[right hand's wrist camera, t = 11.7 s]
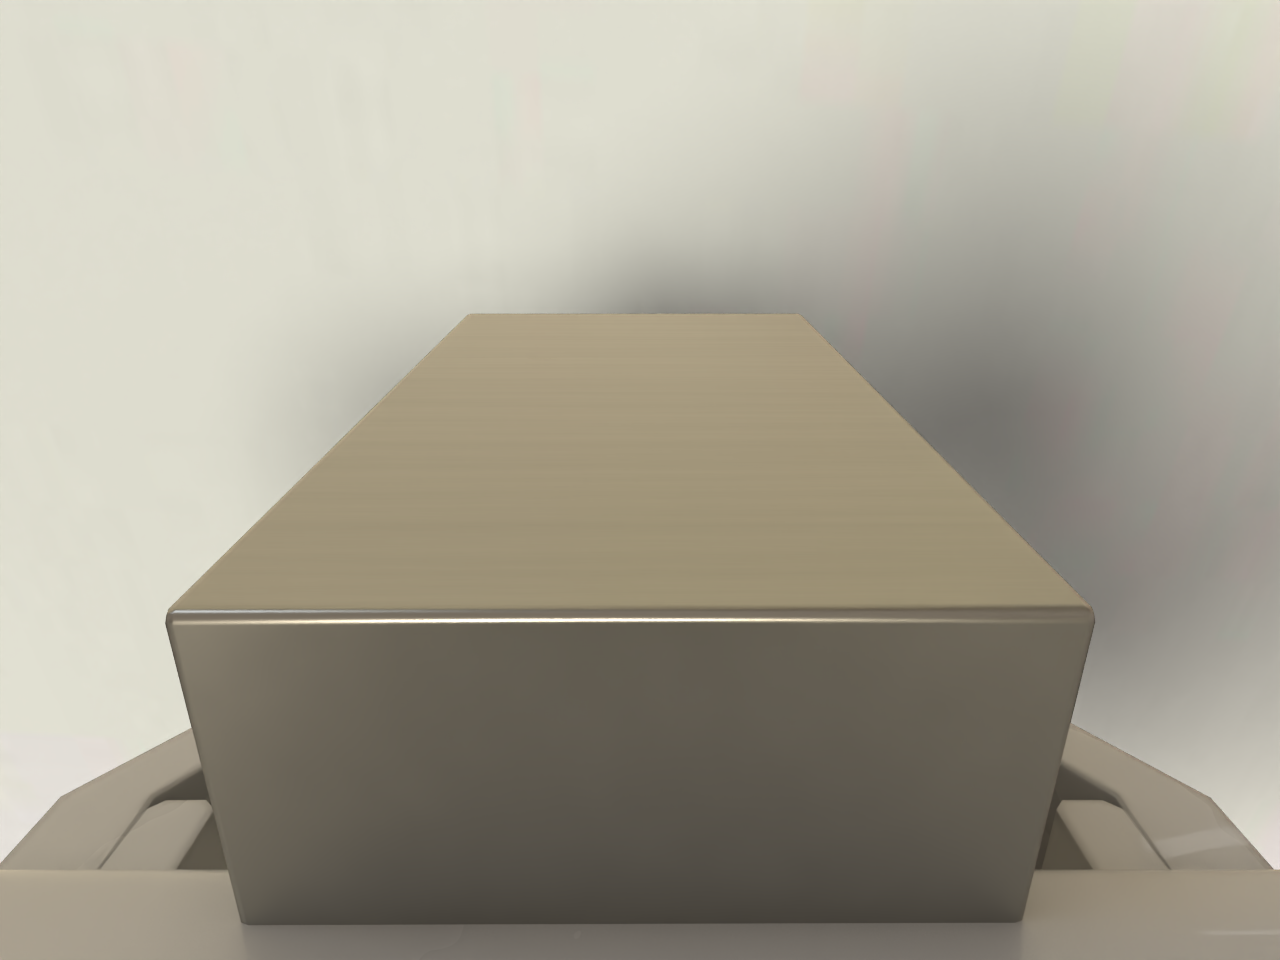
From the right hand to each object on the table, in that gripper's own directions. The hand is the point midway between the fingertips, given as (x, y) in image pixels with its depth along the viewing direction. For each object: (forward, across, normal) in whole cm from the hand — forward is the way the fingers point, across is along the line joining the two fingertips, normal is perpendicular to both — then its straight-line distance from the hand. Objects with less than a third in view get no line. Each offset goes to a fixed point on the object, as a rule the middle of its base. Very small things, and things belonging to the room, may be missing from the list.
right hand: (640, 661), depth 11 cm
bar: (+3, 0, -10) cm, 10 cm away
